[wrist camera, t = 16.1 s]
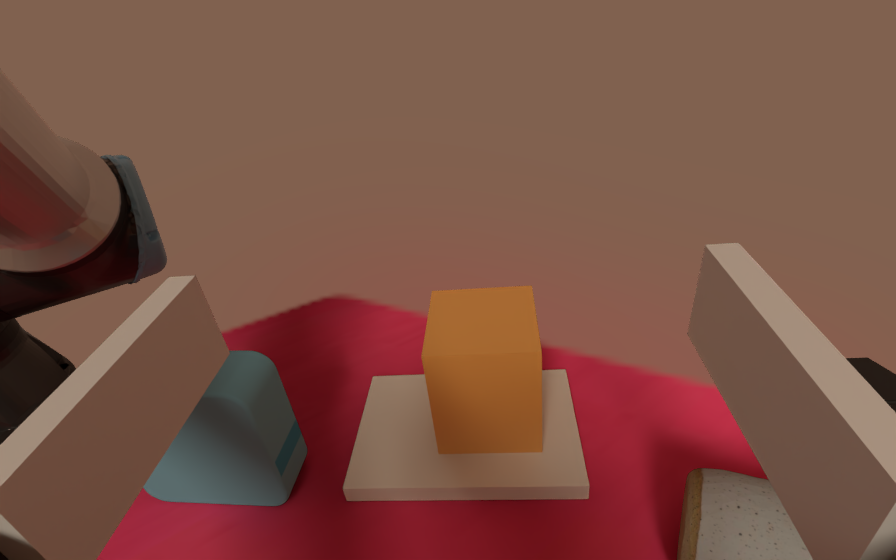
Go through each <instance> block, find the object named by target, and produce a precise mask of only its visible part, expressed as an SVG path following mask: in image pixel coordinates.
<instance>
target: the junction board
mask: <svg viewBox="0 0 896 560" xmlns="http://www.w3.org/2000/svg"><path fill="white" fill-rule="evenodd" d="M589 487H590V486H589V481H588V476H587V471H586V466H585V461H584V457H583V452H582V447H581V442H580V437H579V432H578V427H577V422H576V418H575V413H574V408H573V403H572V398H571V393H570V388H569V383H568V378H567V374H566V369H561V370H542V452H529V453H474V454H438V448H437V442H436V436H435V431H434V425H433V419H432V414H431V408H430V402H429V396H428V391H427V385H426V379H425V374H422V375H395V376H373V378H372V382H371V386H370V389H369V393H368V397H367V400H366V404H365V408H364V411H363V415H362V419H361V423H360V426H359V430H358V434H357V437H356V441H355V445H354V448H353V452H352V456H351V459H350V463H349V467H348V470H347V474H346V478H345V481H344V485H343V492H344V494H345V497H346V500H347V501H410V500H534V499H589Z"/></svg>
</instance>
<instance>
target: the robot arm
mask: <svg viewBox="0 0 896 560" xmlns="http://www.w3.org/2000/svg"><path fill="white" fill-rule="evenodd" d="M166 262H167V257H166V252H165V249H164V246H163V243H162V240H161V237H160V235H159V232H158V230H157V226H156V223H155V219H154V217H153V214H152V211H151V208H150V205H149V202H148V200H147V197H146V195H145V192H144V189H143V186H142V184H141V181H140V179H139V176H138V173H137V171H136V168H135V166H134V165H133V162H132V161H131V160H130V158H129V157H127V156H123V155H116V156H111V155H104V156H101V157H99V156H98V155H97V154H96V153H94V152H93V151H91V150H90V149H88V148H87V147H85V146H83V145H81V144H79V143H77V142H74V141H72V140H69V139H66V138H62V137H58V136H57V135H56V134H55V133H54V132H53V131H52V129H51V128H50V127H49V126H48V125H47V123H46V122H45V121H44V120H43V119H42V118H41V116H40V115H39V114H38V113H37V112H36V110H35V109H34V108H33V107H32V106H31V105H30V103H29V102H28V101H27V100H26V99H25V98H24V96H23V95H22V94H21V93H20V92H19V90H18V89H17V88H16V87H15V86H14V85H13V83H12V82H11V81H10V80H9V79H8V77H7V76H6V75H5V74H4V73H3V72H2V71H1V69H0V560H96V559H97V557H98V556H99V554H100V553H101V551H102V550H103V548H104V547H105V545H106V544H107V542H108V540H109V539H110V537H111V536H112V534H113V533H114V531H115V530H116V528H117V527H118V525H119V524H120V522H121V520H122V519H123V517H124V516H125V514H126V513H127V511H128V510H129V508H130V507H131V505H132V503H133V502H134V500H135V499H136V497H137V496H138V494H139V493H140V491H141V490H142V488H143V487H144V485H145V483H146V482H147V480H148V479H149V477H150V476H151V474H152V473H153V471H154V470H155V468H156V467H157V465H158V463H159V462H160V460H161V459H162V457H163V456H164V454H165V453H166V451H167V450H168V448H169V446H170V445H171V443H172V442H173V440H174V439H175V437H176V436H177V434H178V433H179V431H180V430H181V428H182V426H183V425H184V423H185V422H186V420H187V419H188V417H189V416H190V414H191V413H192V411H193V409H194V408H195V406H196V405H197V403H198V402H199V400H200V399H201V397H202V396H203V394H204V393H205V391H206V389H207V388H208V386H209V385H210V383H211V382H212V380H213V379H214V377H215V376H216V374H217V373H218V371H219V369H220V368H221V366H222V365H223V363H224V362H225V360H226V359H227V357H228V356H229V354H230V352H229V350H228V348H227V345H226V343H225V341H224V339H223V336H222V334H221V332H220V330H219V328H218V325H217V323H216V321H215V318H214V316H213V314H212V312H211V309H210V307H209V305H208V303H207V300H206V298H205V296H204V294H203V291H202V289H201V287H200V284H199V282H198V280H197V278H196V276H195V275H194V276H178V277H168V278H167V279H166V280H165V281H164V283H162V284H161V285H160V287H158V288H157V289H156V290H155V291H154V292H153V294H151V295H150V296H149V297H148V298H147V299H146V300H145V301H144V302H143V303H142V304H141V305H140V306H139V307H138V308H137V309H136V310H135V311H134V312H133V313H132V314H131V315H130V316H129V317H128V318H127V319H126V320H125V321H124V322H123V323H122V324H121V325H120V326H119V327H118V328H117V329H116V330H115V331H114V332H113V333H112V334H111V335H110V336H109V337H108V338H107V339H106V340H105V341H104V342H103V343H102V344H101V345H100V346H99V347H98V348H97V349H96V350H95V351H94V352H93V353H92V354H91V355H90V356H89V357H88V358H87V359H86V360H85V361H84V362H83V363H82V364H81V365H80V366H79V367H78V368H77V369H76V368H75V367H74V365H73V364H72V363H71V362H70V361H69V360H68V359H67V358H65V357H64V356H62V355H61V354H59V353H58V352H56V351H55V350H53V349H52V348H50V347H49V346H47V345H46V344H44V343H43V342H41V341H40V340H38V339H37V338H35V337H34V336H32V335H31V334H29V333H28V332H26V331H25V330H24V329H23V328H22V327H21V326H20V325H19V323H18V322H17V321H16V319H15V318H17V317H20V316H22V315H26V314H29V313H32V312H35V311H39V310H42V309H45V308H48V307H52V306H55V305H58V304H62V303H65V302H68V301H71V300H75V299H78V298H81V297H84V296H87V295H91V294H94V293H97V292H100V291H104V290H107V289H110V288H114V287H117V286H120V285H123V284H127V283H128V284H132V283H136V282H138V281H140V279H142V278H145V277H148V276H151V275H153V274H156V273H158V272H160V271H161V270H162V269H163V268H164V267H165V265H166ZM687 334H688V336H689V338H690V340H691V342H692V343H693V345H694V346H695V349H696V351H697V352H698V354H699V356H700V358H701V359H702V361H703V363H704V365H705V367H706V368H707V370H708V372H709V374H710V376H711V377H712V379H713V381H714V383H715V385H716V386H717V388H718V390H719V392H720V394H721V395H722V397H723V399H724V401H725V402H726V404H727V406H728V408H729V410H730V411H731V413H732V415H733V417H734V419H735V420H736V422H737V424H738V426H739V428H740V429H741V431H742V433H743V435H744V436H745V438H746V440H747V442H748V444H749V445H750V447H751V449H752V451H753V453H754V454H755V456H756V458H757V460H758V462H759V463H760V465H761V467H762V469H763V471H764V472H765V474H766V476H767V478H768V479H769V481H770V483H771V485H772V487H773V488H774V490H775V492H776V494H777V496H778V497H779V499H780V501H781V503H782V505H783V506H784V508H785V510H786V512H787V514H788V515H789V517H790V519H791V521H792V522H793V524H794V526H795V528H796V530H797V531H798V533H799V535H800V537H801V539H802V540H803V542H804V544H805V546H806V548H807V549H808V551H809V553H810V555H811V556H812V558H813V560H896V374H894V373H892V372H891V371H889V370H887V369H886V368H884V367H882V366H881V365H879V364H877V363H876V362H874V361H872V360H871V359H869V358H845V357H844V356H843V355H842V354H841V353H840V352H839V351H838V350H837V349H836V348H835V347H834V345H833V344H832V343H831V342H830V341H829V340H828V339H827V338H826V337H825V336H824V335H823V334H822V333H821V331H820V330H819V329H818V328H817V327H816V326H815V325H814V324H813V323H812V322H811V321H810V320H809V318H808V317H807V316H806V315H805V314H804V313H803V312H802V311H801V310H800V309H799V308H798V307H797V306H796V305H795V303H794V302H793V301H792V300H791V299H790V298H789V297H788V296H787V295H786V294H785V293H784V292H783V290H782V289H781V288H780V287H779V286H778V285H777V284H776V283H775V282H774V281H773V280H772V279H771V278H770V276H769V275H768V274H767V273H766V272H765V271H764V270H763V269H762V268H761V267H760V266H759V265H758V264H757V262H756V261H755V260H754V259H753V258H752V257H751V256H750V255H749V254H748V253H747V252H746V251H745V250H744V248H743V247H742V246H741V245H740V244H739V243H728V244H711V245H705V248H704V253H703V258H702V263H701V268H700V273H699V278H698V283H697V288H696V293H695V298H694V303H693V308H692V313H691V318H690V323H689V328H688V333H687Z"/></svg>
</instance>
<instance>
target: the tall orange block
mask: <svg viewBox="0 0 896 560" xmlns="http://www.w3.org/2000/svg"><path fill="white" fill-rule="evenodd" d="M422 362H423V368H424V374H425V379H426V385H427V391H428V396H429V402H430V408H431V414H432V419H433V425H434V431H435V436H436V442H437V448H438V454H474V453H529V452H542V350H541V343H540V337H539V330H538V324H537V317H536V310H535V304H534V297H533V291H532V286H517V287H516V286H515V287H497V288H480V289H460V290H444V291H443V290H442V291H432V295H431V301H430V307H429V313H428V320H427V326H426V332H425V338H424V344H423V351H422Z"/></svg>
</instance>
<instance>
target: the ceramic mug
mask: <svg viewBox="0 0 896 560" xmlns="http://www.w3.org/2000/svg"><path fill="white" fill-rule="evenodd" d="M677 560H813V558H812V556H811V555H810V553H809V551H808V549H807V548H806V546H805V544H804V542H803V540H802V539H801V537H800V535H799V533H798V531H797V530H796V528H795V526H794V524H793V522H792V521H791V519H790V517H789V515H788V514H787V512H786V510H785V508H784V506H783V505H782V503H781V501H780V499H779V497H778V496H777V494H776V492H775V490H774V488H773V487H772V485H771V483H770V481H769V480H767V479H762V478H757V477H752V476H748V475H744V474H740V473H736V472H731V471H726V470H721V469H707V468H698V469H694V470H693V471H691V472H690V473H689V474H688V477H687V481H686V486H685V492H684V499H683V507H682V516H681V524H680V533H679V541H678V553H677Z"/></svg>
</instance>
